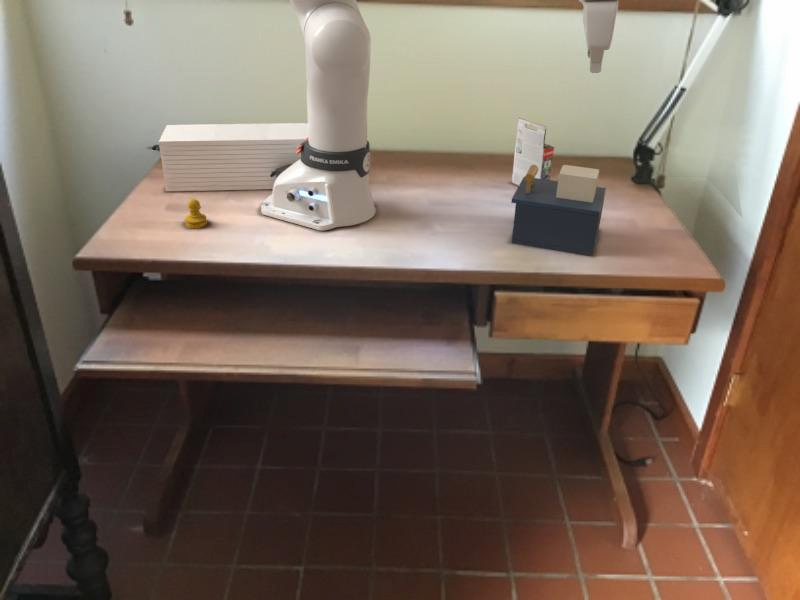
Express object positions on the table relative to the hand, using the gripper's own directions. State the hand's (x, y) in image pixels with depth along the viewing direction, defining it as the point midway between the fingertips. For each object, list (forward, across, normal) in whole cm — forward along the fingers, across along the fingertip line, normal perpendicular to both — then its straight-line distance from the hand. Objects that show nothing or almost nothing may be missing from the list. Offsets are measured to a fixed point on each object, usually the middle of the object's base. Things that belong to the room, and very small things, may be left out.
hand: (593, 64), depth 130 cm
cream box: (+22, +7, -2) cm, 23 cm away
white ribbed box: (+25, -7, -71) cm, 75 cm away
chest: (+30, +7, -5) cm, 31 cm away
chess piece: (+24, +16, -72) cm, 78 cm away
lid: (+22, +7, -5) cm, 24 cm away
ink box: (+30, -16, -11) cm, 36 cm away
